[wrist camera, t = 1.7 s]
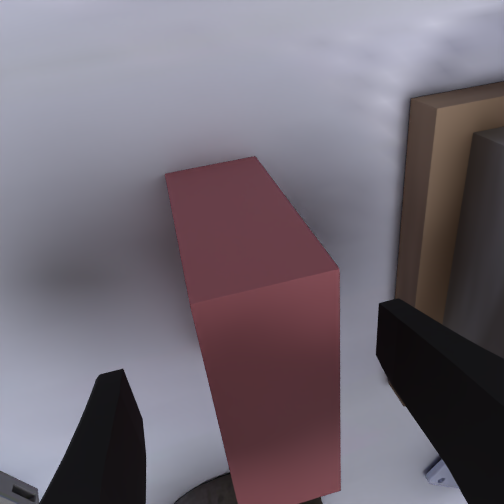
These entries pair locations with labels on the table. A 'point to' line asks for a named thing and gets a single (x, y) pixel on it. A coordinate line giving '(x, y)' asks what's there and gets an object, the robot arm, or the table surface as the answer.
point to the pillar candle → (219, 493)
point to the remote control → (16, 491)
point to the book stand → (455, 213)
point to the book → (263, 329)
